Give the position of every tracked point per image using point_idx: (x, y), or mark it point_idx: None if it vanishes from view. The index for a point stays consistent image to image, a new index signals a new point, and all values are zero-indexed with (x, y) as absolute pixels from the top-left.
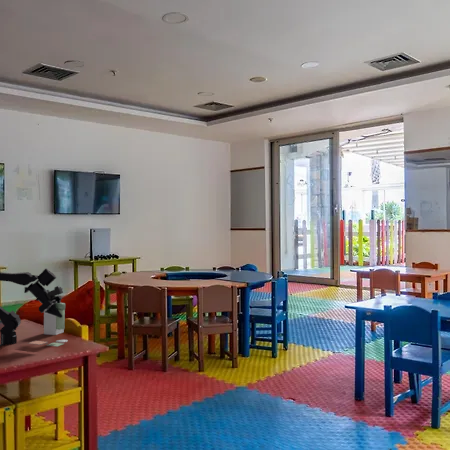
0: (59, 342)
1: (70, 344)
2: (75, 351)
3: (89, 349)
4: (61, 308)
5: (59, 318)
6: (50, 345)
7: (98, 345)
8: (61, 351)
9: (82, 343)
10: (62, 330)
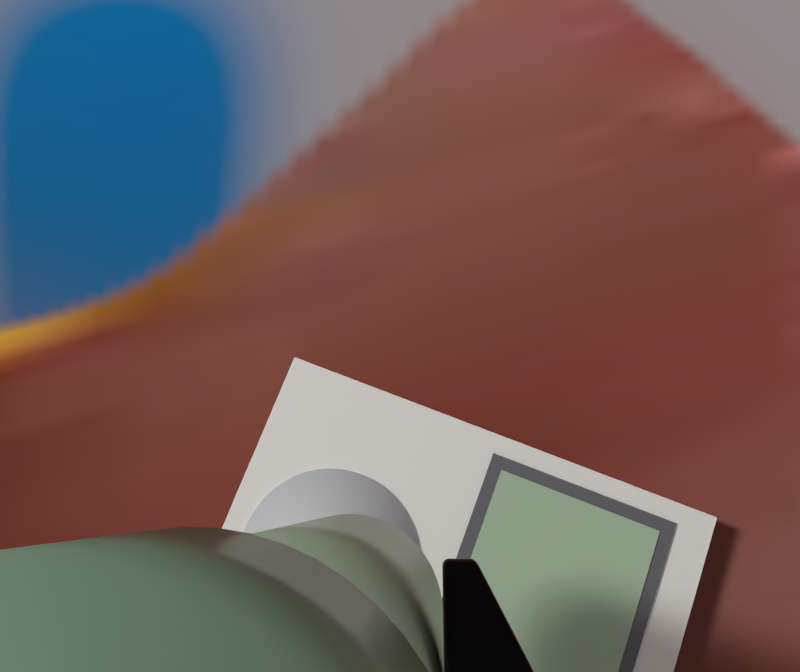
0: None
1: None
2: (774, 234)
3: (658, 96)
4: None
5: (443, 664)
6: (623, 656)
7: (454, 44)
8: (796, 417)
9: (346, 261)
10: None
